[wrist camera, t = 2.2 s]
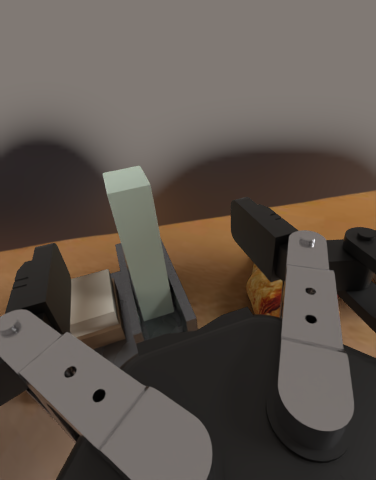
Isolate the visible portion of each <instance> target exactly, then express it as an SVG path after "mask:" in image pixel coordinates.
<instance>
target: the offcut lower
mask: <svg viewBox="0 0 376 480" xmlns="http://www.w3.org/2000/svg"><path fill="white" fill-rule="evenodd" d="M112 281H113V288H114V295H115V301H116V308H117V315H118V321H119V324H117V325H114V326H111V327H108V328H104V329H101V330H98V331H95V332H92V333H89V334H86V335H82V336H79V337H76V338H77V339H79V340H80V341H82V342H83V343H84V344H86V345H87V346H89V347H90V348H91V349H96V348H99V347H102V346H105V345H108V344H111V343H114V342H117V341H120V340H123V339H126V337H125V331H124V325H123V319H122V313H121V307H120V302H119V296H118V290H117V286H116V284H115V281H114V278H112Z"/></svg>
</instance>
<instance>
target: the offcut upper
mask: <svg viewBox="0 0 376 480" xmlns="http://www.w3.org/2000/svg"><path fill="white" fill-rule="evenodd" d="M117 324H119V321H118V315H117V308H116V301H115V295H114V288H113V281H112V278H111V275H110V273H109V270H108V269H107V270H103V271H99V272H96V273H92V274H88V275H85V276H81V277H77V278H74V279H71V316H70V332H71V334H72V335H73V336H75V337H79V336H82V335H86V334H89V333H92V332H95V331H98V330H101V329H104V328H108V327H111V326H114V325H117Z"/></svg>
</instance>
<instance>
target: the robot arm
mask: <svg viewBox="0 0 376 480" xmlns="http://www.w3.org/2000/svg"><path fill="white" fill-rule="evenodd" d="M231 233H232V236H233V238H234V240H235V241H236V243H237V244H238V245H239V246H240V247H241V248H242V250H243V251H244V252H245V253H246V254H247V255H248V257H249V258H250V259H251V260H252V261H253V262H254V264H255V265H256V266H257V267H258V268H259V269H260V271H261V272H262V273H263V274H264V275H265V276H266V278H267V279H268V280H269V281H270V282H274V281H277V280H280V279H281V280H282V281H283V283H282V292H281V302H280V312H279V317H276V316H271V315H263V314H254V315H253V314H252V313H251V311H250V310H249V308H248V307H245V308H242V309H239V310H236V311H233V312H230V313H227V314H224V315H221V316H220V317H218V318H216V319H215V320H213V321H212V322H210V323H208V324H207V325H205V326H204V327H202V328H200V329H198V330H196V331H188V332H179V333H169V334H164V335H161V336H158V337H155V338H152V339H149V340H146V341H142V342H139V343H136V345H137V350H138V353H137V354H136V355H134V356H132V357H131V358H130V359H129V360H127V361H126V362H125V363H124V364H123V365H122V366H121V367H120V368H118V367H117V366H115V365H114V364H113V363H111V362H110V361H108V360H107V359H106V358H104V357H103V356H101V355H100V354H99V353H97V352H96V351H94V350H93V349H91V348H90V347H89V346H87V345H86V344H84V343H83V342H82V341H80V340H79V339H77V338H76V337H75V336H73V335H72V334H70V316H71V278H70V274H69V271H68V269H67V267H66V264H65V262H64V260H63V258H62V255H61V253H60V251H59V249H58V246H57V245H56V244H55V243H52V244H48V245H43V246H39V247H36V248H35V250H34V255H33V259H32V261H28V262H25V263H24V264H23V265H22V266H21V267H20V269H19V270H18V271H17V274H16V277H15V282H14V284H13V290H12V291H11V294H10V298H9V301H8V305H7V308H6V312H5V314H4V315H2V316H1V317H0V406H1V405H3V404H4V403H6V402H8V401H9V400H11V399H12V398H14V397H16V396H17V395H19V394H20V393H22V392H24V391H26V392H27V393H28V394H29V395H30V396H31V397H32V398H33V399H34V400H35V401H36V402H37V403H38V404H39V405H40V406H41V407H42V408H43V409H44V410H45V411H46V412H47V413H48V414H49V415H50V416H51V417H52V418H53V419H54V420H55V421H56V422H57V423H58V424H59V426H60V427H61V428H62V429H63V430H64V431H65V432H66V433H67V435H68V436H69V437H70V438H71V439H72V440H73V441H74V442H75V443H76V444H75V445H74V447H73V449H72V451H71V453H70V455H69V456H68V458H67V460H66V462H65V464H64V466H63V468H62V469H61V471H60V473H59V475H58V477H57V479H56V480H376V358H374V357H372V356H369V355H367V354H365V353H362V352H360V351H358V350H355V349H353V348H351V347H348V346H346V345H344V344H343V342H342V333H341V325H340V316H339V307H338V299H337V295H338V296H339V297H340V298H341V299H342V300H343V301H344V302H345V303H346V304H347V305H348V306H349V307H350V308H351V309H352V310H353V311H354V312H355V313H356V314H357V315H358V316H359V317H360V318H361V319H362V320H363V321H364V322H365V323H366V324H367V325H368V326H369V327H370V328H371V329H372V330H373V331H374V332H375V333H376V284H374V283H373V282H372V281H371V280H372V278H373V279H374V281H375V283H376V231H375V230H373V229H369V228H363V227H356V228H351V229H349V230H347V231H346V233H345V237H344V239H343V240H326V239H325V238H324V237H323V236H322V235H320V234H318V233H316V232H312V231H305V230H304V231H298V230H297V229H296V228H294V227H293V226H292V225H290V224H289V223H288V222H287V221H285V220H284V219H283V218H281V217H280V216H279V215H278V214H276V213H275V212H274V211H273V210H271V209H270V208H268V207H265V206H263V205H260V204H259V205H257V204H256V203H255V202H253V201H252V200H251V199H250V198H248V197H245V198H241V199H237V200H233V201H232V202H231Z"/></svg>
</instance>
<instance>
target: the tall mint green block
mask: <svg viewBox="0 0 376 480" xmlns="http://www.w3.org/2000/svg"><path fill="white" fill-rule="evenodd" d="M103 177H104V182H105V187H106V190H107V191H106V192H107V196H108V199H109V202H110V206H111V209H112V213H113V216H114V220H115V223H116V227H117V230H118V234H119V237H120V241H121V244H122V248H123V251H124V254H125V258H126V261H127V265H128V268H129V272H130V275H131V279H132V282H133V285H134V289H135V292H136V296H137V299H138V303H139V306H140V310H141V313H142V316H143V320H144V321H147V320H150V319H153V318H156V317H159V316H163V315H166V314H169V313H172V312H174V308H173V303H172V297H171V292H170V287H169V281H168V276H167V271H166V265H165V260H164V255H163V249H162V244H161V239H160V233H159V228H158V222H157V218H156V212H155V206H154V202H153V196H152V190H151V185H150V183H149V181H148V180H147V178H146V176H145V174H144V172H143V170H142V169H141V167H140V166H136V167H131V168H126V169H121V170H117V171H111V172H106V173H103Z"/></svg>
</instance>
